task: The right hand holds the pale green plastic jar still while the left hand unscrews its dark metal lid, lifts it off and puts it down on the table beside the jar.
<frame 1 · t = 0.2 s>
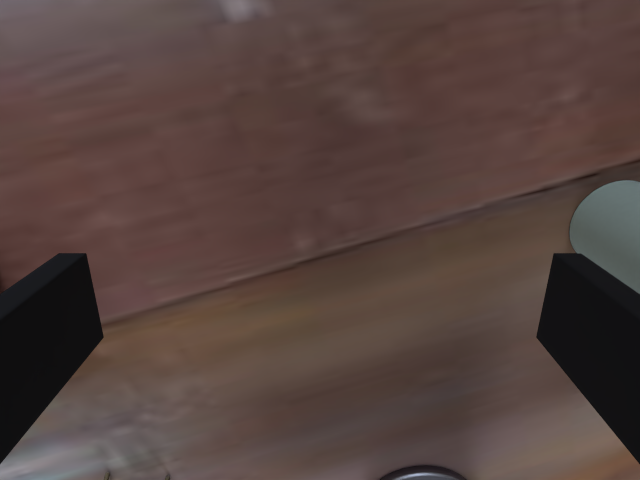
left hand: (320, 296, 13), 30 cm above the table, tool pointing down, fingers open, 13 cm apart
jar: (614, 223, 44), on the table
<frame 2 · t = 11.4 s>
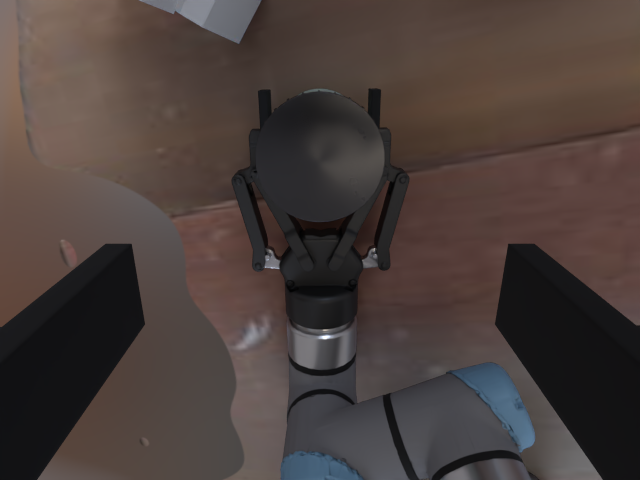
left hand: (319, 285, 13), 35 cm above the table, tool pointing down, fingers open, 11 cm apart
right hand: (319, 89, 38), fingers closed on jar, 9 cm apart
lid: (320, 159, 32), point 15 cm above the table, screwed on, not yet turned
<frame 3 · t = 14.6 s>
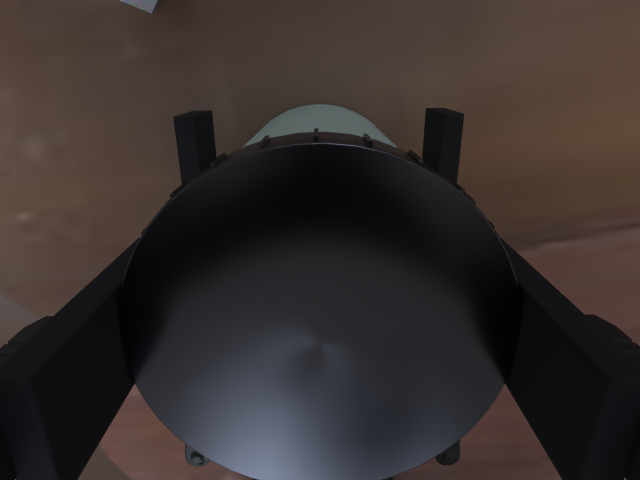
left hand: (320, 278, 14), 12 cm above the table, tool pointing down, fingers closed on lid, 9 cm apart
jar: (319, 187, 24), on the table, touching right hand
lid: (319, 335, 11), point 15 cm above the table, screwed on, not yet turned, touching left hand
when the left hand's fingers open (12 cm above the table, at t = 16.2 s): lid stays where it is, point 15 cm above the table.
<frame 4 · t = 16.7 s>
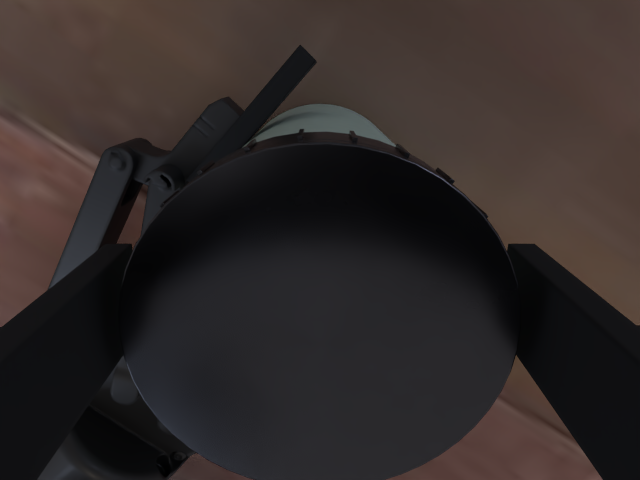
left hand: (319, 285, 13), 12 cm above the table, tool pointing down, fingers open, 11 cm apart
jar: (319, 186, 25), on the table, touching right hand
lid: (319, 336, 11), point 15 cm above the table, turned 103° so far, risen 0.3 cm, still on its thread
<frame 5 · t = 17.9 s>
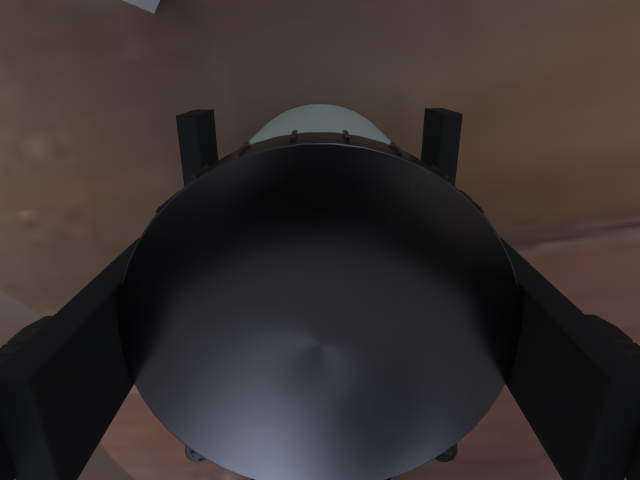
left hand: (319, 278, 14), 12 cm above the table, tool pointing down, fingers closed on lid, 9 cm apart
jar: (319, 186, 25), on the table, touching right hand
lid: (319, 336, 11), point 15 cm above the table, turned 103° so far, risen 0.3 cm, still on its thread, touching left hand
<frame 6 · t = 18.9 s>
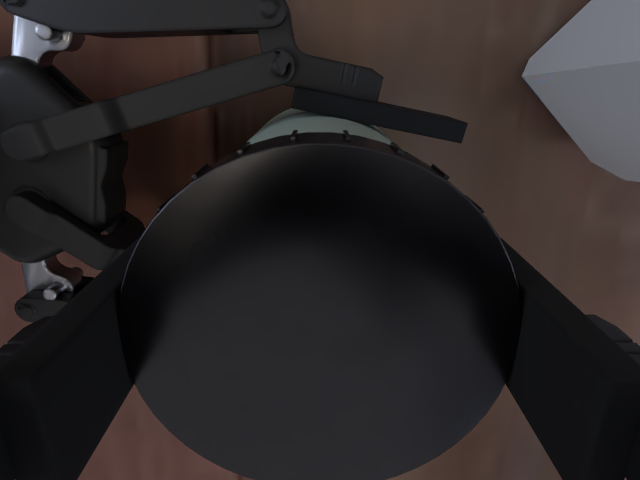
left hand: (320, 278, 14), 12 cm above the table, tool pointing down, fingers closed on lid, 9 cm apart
jar: (319, 184, 25), on the table, touching right hand
lid: (319, 336, 11), point 15 cm above the table, off its thread, touching left hand
when the left hand's fingers open (0 cm above the table, at t = 27.0 s): lid drops 2 cm, point 1 cm above the table.
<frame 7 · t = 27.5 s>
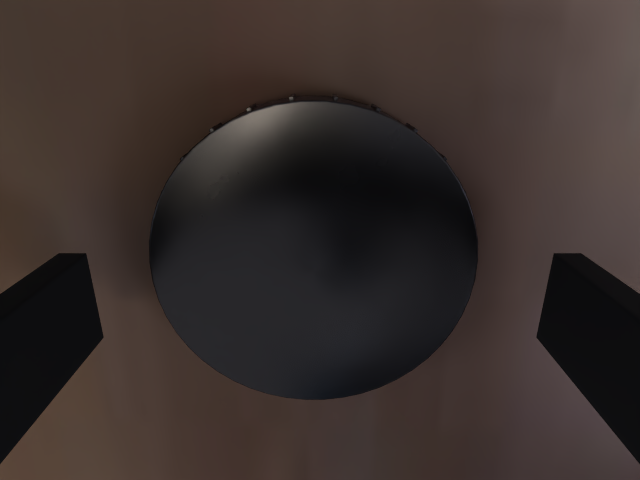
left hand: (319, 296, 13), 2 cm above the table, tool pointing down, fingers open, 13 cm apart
lid: (314, 266, 13), point 1 cm above the table, off its thread
when the right hand's fingers open (6 cm above the table, at t = 28.0 s): jar stays where it is, on the table.
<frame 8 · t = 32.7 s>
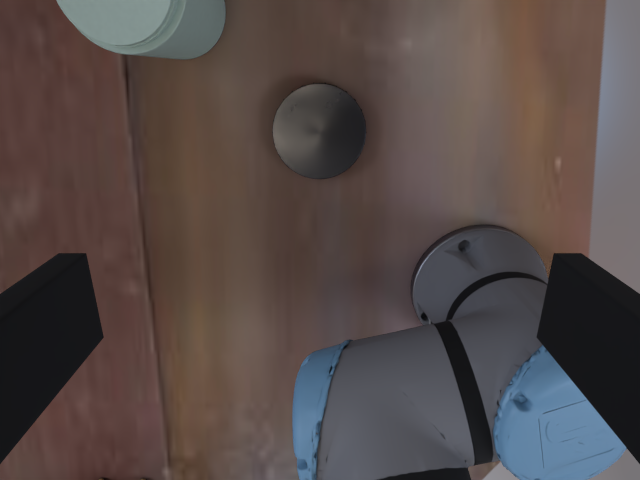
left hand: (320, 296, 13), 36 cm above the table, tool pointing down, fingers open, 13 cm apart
jar: (178, 8, 42), on the table
lid: (319, 132, 45), point 1 cm above the table, off its thread
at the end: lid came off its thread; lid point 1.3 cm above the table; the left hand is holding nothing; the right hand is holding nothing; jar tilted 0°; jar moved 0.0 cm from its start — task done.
